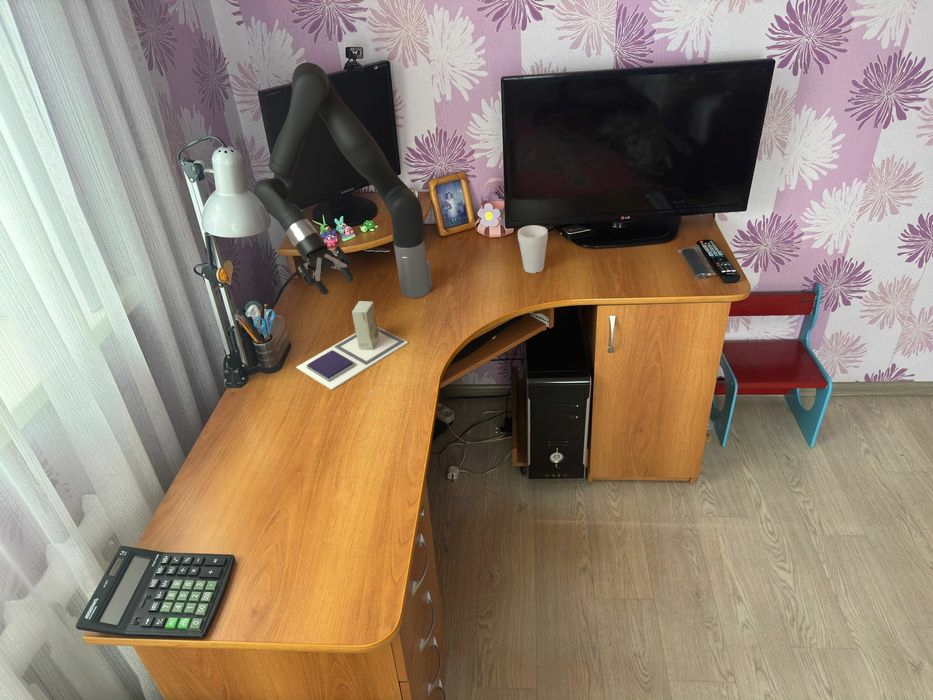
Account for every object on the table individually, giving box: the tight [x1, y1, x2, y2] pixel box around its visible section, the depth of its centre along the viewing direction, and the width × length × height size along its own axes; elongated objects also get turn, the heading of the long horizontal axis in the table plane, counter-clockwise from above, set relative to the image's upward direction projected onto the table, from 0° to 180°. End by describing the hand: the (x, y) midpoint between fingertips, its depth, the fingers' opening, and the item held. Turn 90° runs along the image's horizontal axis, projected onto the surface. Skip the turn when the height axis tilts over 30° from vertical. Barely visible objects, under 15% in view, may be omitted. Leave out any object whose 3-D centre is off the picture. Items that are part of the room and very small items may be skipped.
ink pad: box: [306, 350, 356, 382], centre depth 189 cm, size 9×10×2 cm
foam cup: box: [517, 224, 549, 274], centre depth 223 cm, size 10×9×13 cm
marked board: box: [296, 326, 409, 391], centre depth 194 cm, size 27×16×1 cm, turn 136°
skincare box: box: [351, 300, 379, 350], centre depth 194 cm, size 6×4×12 cm
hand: (339, 287), depth 194 cm, fingers open, 8 cm apart
